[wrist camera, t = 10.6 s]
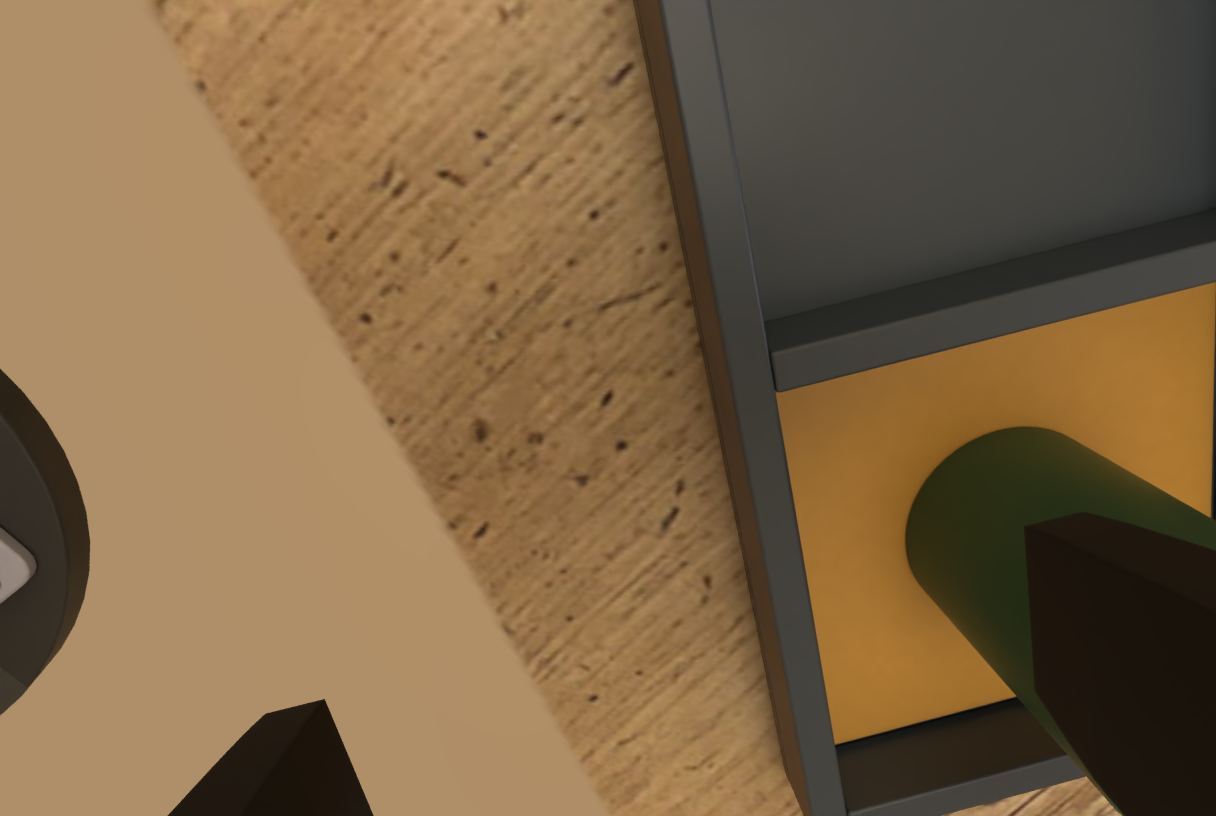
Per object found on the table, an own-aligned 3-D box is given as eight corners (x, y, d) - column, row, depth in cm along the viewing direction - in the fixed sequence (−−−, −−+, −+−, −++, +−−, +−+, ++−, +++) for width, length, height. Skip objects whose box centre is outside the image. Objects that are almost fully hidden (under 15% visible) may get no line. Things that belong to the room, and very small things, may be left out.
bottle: (965, 649, 20) (1341, 1089, 11) (866, 511, 18) (1206, 887, 9) (1136, 535, 19) (1680, 897, 10) (1049, 383, 18) (1595, 652, 9)
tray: (784, 772, 21) (818, 850, 19) (572, -308, 14) (584, -393, 11) (1227, 654, 21) (1312, 717, 19) (1261, -466, 14) (1407, -579, 12)
